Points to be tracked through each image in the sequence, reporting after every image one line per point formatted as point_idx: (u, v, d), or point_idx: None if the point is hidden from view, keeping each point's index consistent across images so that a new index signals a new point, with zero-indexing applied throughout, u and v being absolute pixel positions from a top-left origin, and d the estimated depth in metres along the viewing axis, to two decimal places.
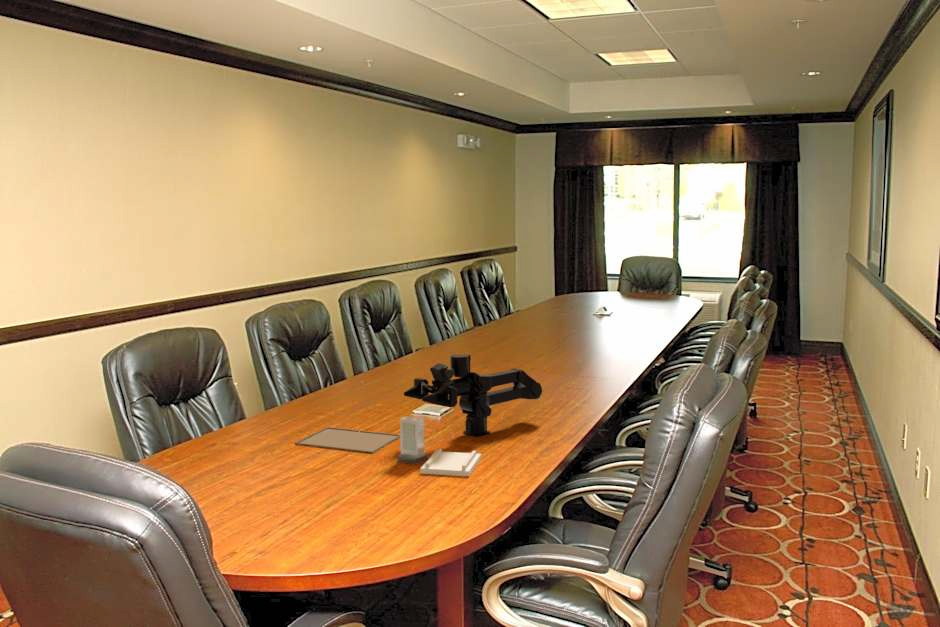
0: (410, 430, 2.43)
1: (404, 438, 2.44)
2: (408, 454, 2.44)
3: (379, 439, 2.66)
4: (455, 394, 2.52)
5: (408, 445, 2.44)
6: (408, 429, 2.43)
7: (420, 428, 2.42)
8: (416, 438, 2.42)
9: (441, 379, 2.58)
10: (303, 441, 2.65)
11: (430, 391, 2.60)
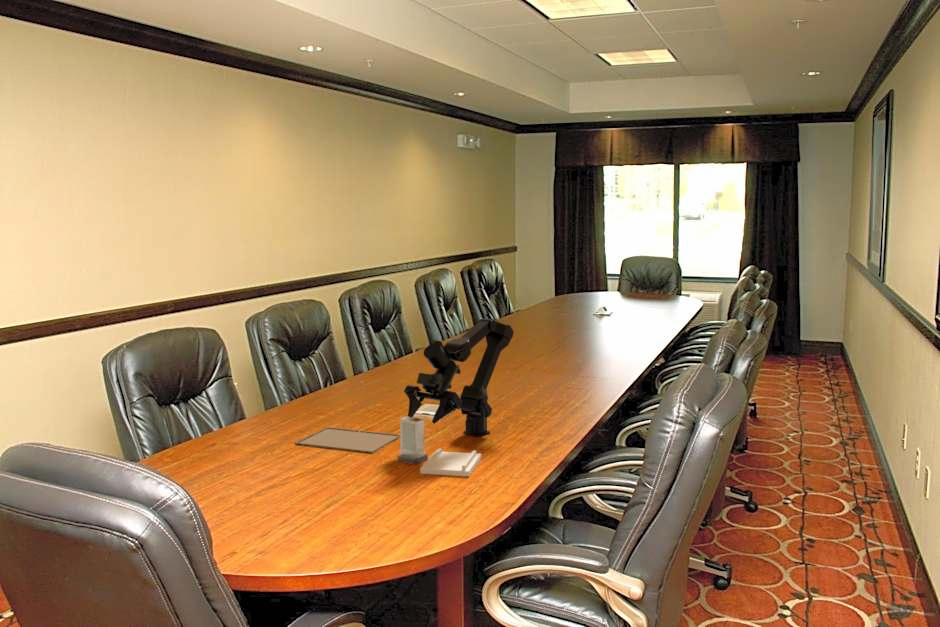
0: (410, 430, 2.43)
1: (404, 438, 2.44)
2: (408, 454, 2.44)
3: (379, 439, 2.66)
4: (457, 397, 2.46)
5: (408, 445, 2.44)
6: (408, 429, 2.43)
7: (420, 428, 2.42)
8: (416, 438, 2.42)
9: (433, 386, 2.48)
10: (303, 441, 2.65)
11: (428, 397, 2.52)
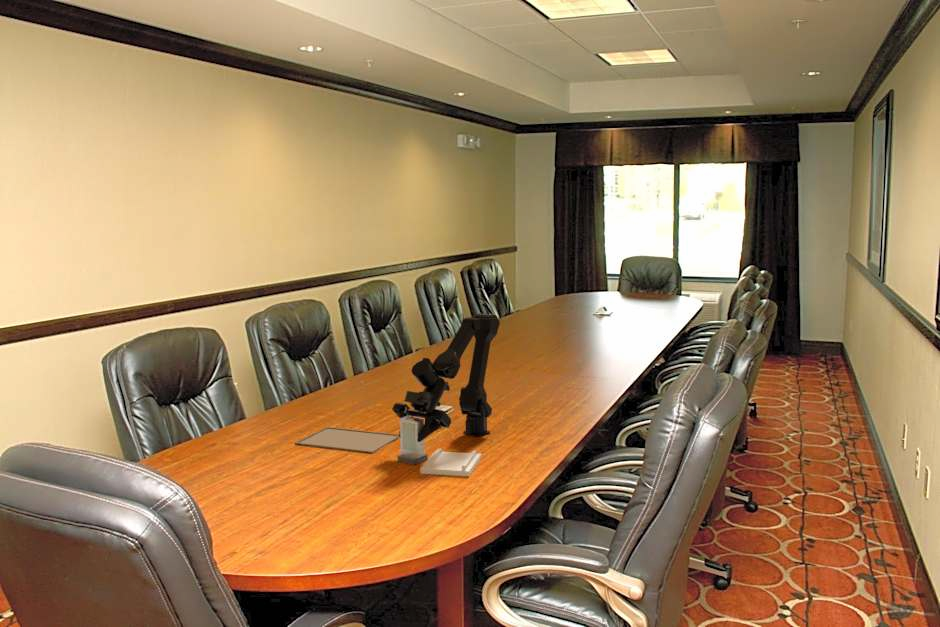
0: (410, 430, 2.43)
1: (404, 438, 2.44)
2: (408, 454, 2.44)
3: (379, 439, 2.66)
4: (446, 416, 2.42)
5: (408, 445, 2.44)
6: (408, 429, 2.43)
7: (420, 428, 2.42)
8: (416, 438, 2.42)
9: (421, 404, 2.44)
10: (303, 441, 2.65)
11: (416, 416, 2.48)
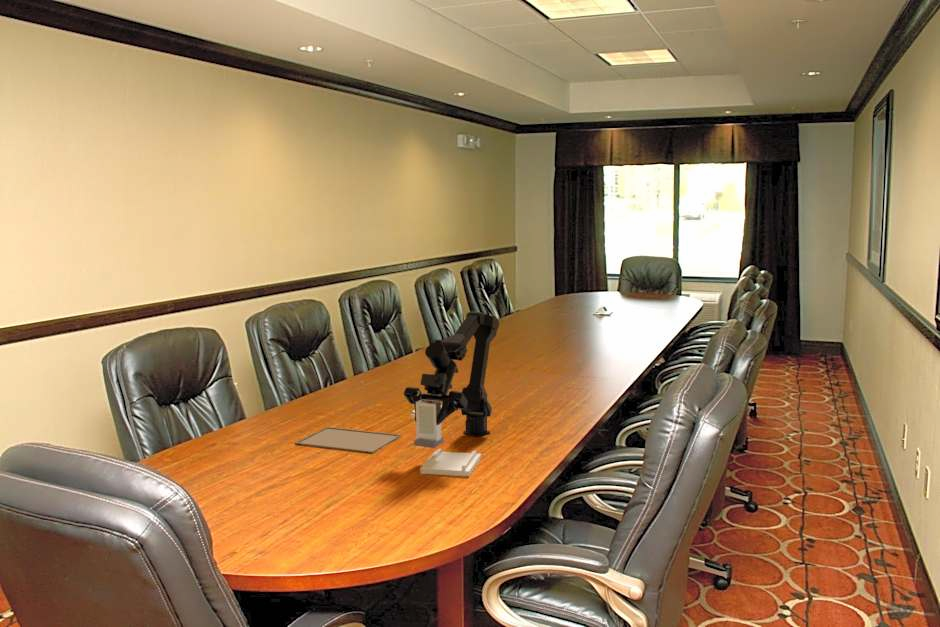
0: (428, 413, 2.38)
1: (421, 422, 2.40)
2: (425, 438, 2.40)
3: (379, 439, 2.66)
4: (464, 397, 2.40)
5: (425, 429, 2.39)
6: (425, 412, 2.39)
7: (438, 411, 2.39)
8: (435, 421, 2.38)
9: (437, 387, 2.41)
10: (303, 441, 2.65)
11: (430, 399, 2.44)
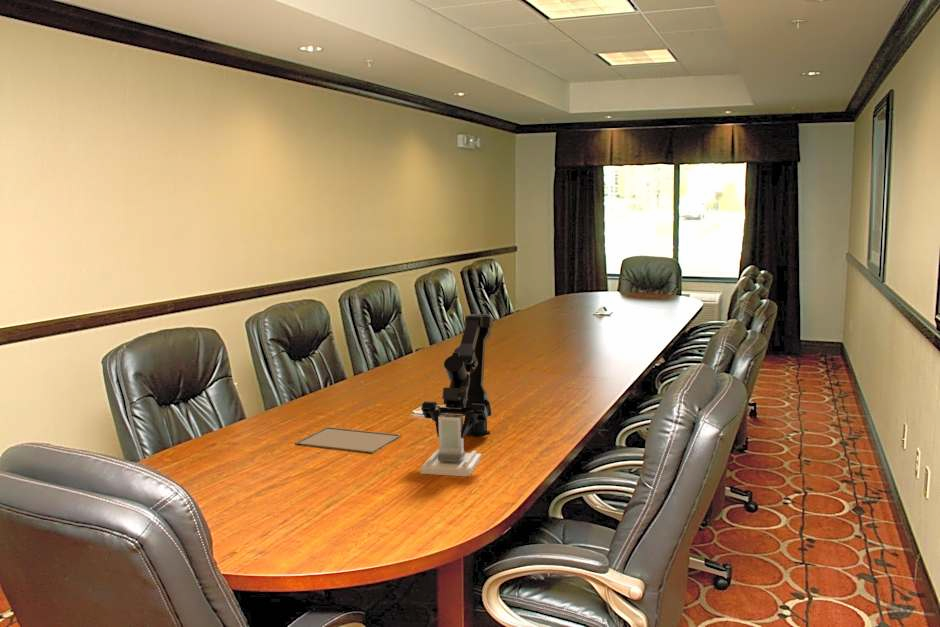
0: (452, 427, 2.36)
1: (444, 436, 2.37)
2: (449, 452, 2.38)
3: (379, 439, 2.66)
4: (485, 409, 2.40)
5: (449, 443, 2.37)
6: (449, 426, 2.36)
7: (461, 424, 2.37)
8: (459, 434, 2.36)
9: (458, 400, 2.39)
10: (303, 441, 2.65)
11: (449, 412, 2.42)
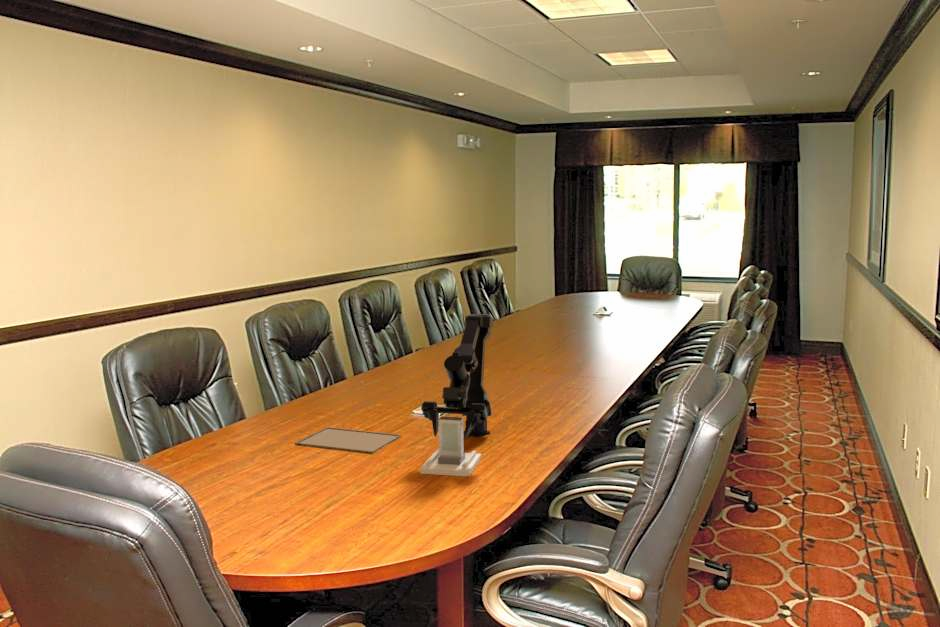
0: (452, 430, 2.37)
1: (444, 439, 2.37)
2: (449, 455, 2.38)
3: (379, 439, 2.66)
4: (485, 409, 2.40)
5: (449, 446, 2.37)
6: (449, 429, 2.37)
7: (461, 427, 2.37)
8: (459, 437, 2.36)
9: (458, 399, 2.39)
10: (303, 441, 2.65)
11: (449, 412, 2.42)
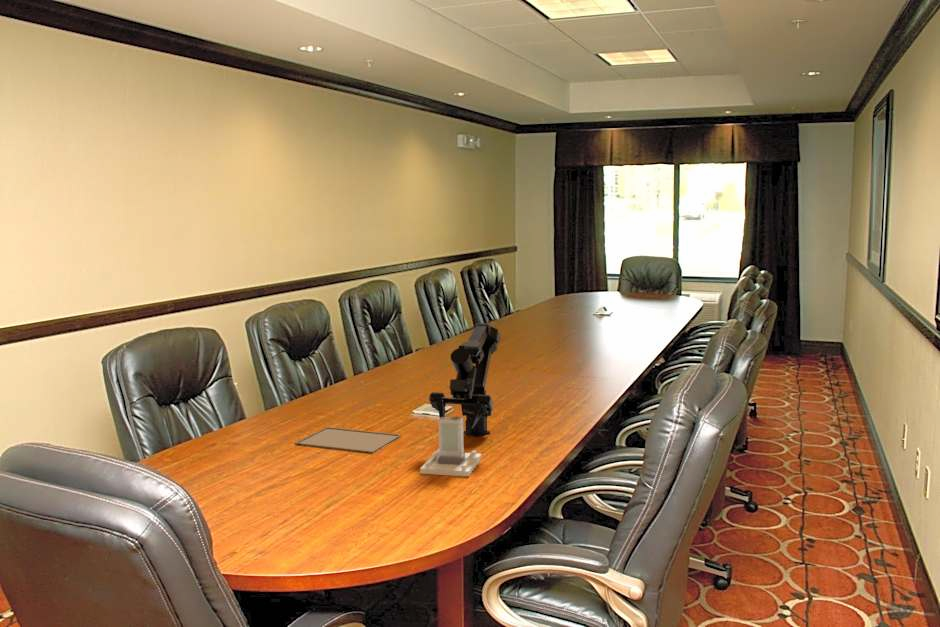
0: (452, 430, 2.37)
1: (444, 439, 2.37)
2: (449, 455, 2.38)
3: (379, 439, 2.66)
4: (491, 400, 2.49)
5: (449, 446, 2.37)
6: (449, 429, 2.37)
7: (462, 427, 2.37)
8: (459, 437, 2.36)
9: (464, 391, 2.48)
10: (303, 441, 2.65)
11: (455, 403, 2.51)
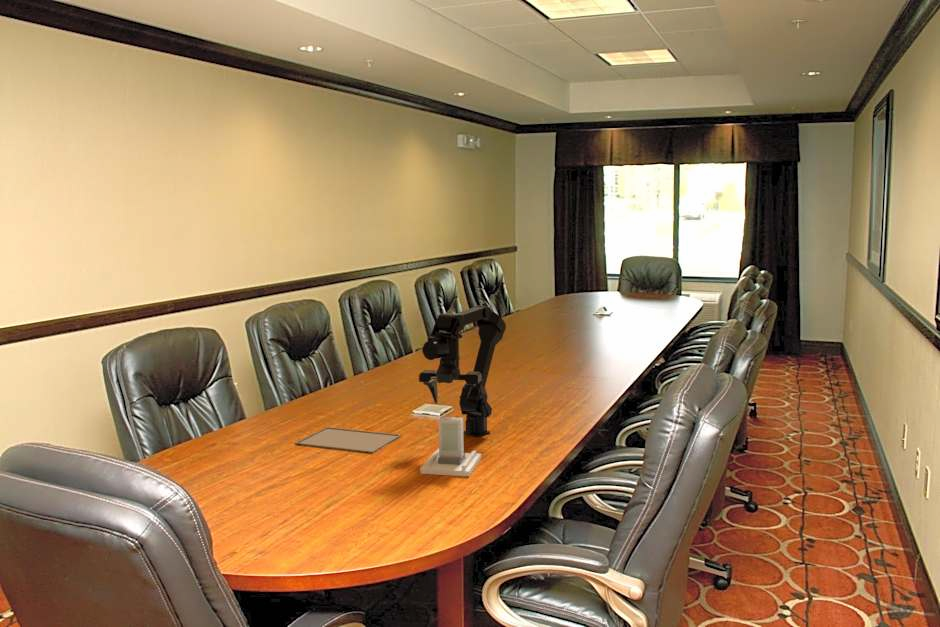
0: (452, 430, 2.37)
1: (444, 439, 2.37)
2: (449, 455, 2.38)
3: (379, 439, 2.66)
4: (479, 376, 2.54)
5: (449, 446, 2.37)
6: (449, 429, 2.37)
7: (462, 427, 2.37)
8: (459, 437, 2.36)
9: None
10: (303, 441, 2.65)
11: None
